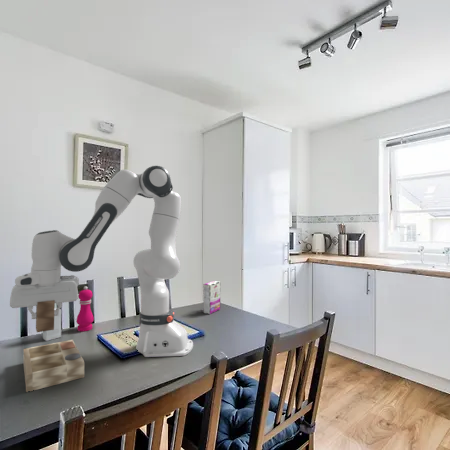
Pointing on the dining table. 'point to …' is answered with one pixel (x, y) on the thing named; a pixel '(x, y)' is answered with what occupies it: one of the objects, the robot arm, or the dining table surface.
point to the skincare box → (57, 328)
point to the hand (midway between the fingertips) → (45, 317)
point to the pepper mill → (85, 310)
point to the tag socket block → (52, 365)
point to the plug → (45, 316)
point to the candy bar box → (211, 297)
